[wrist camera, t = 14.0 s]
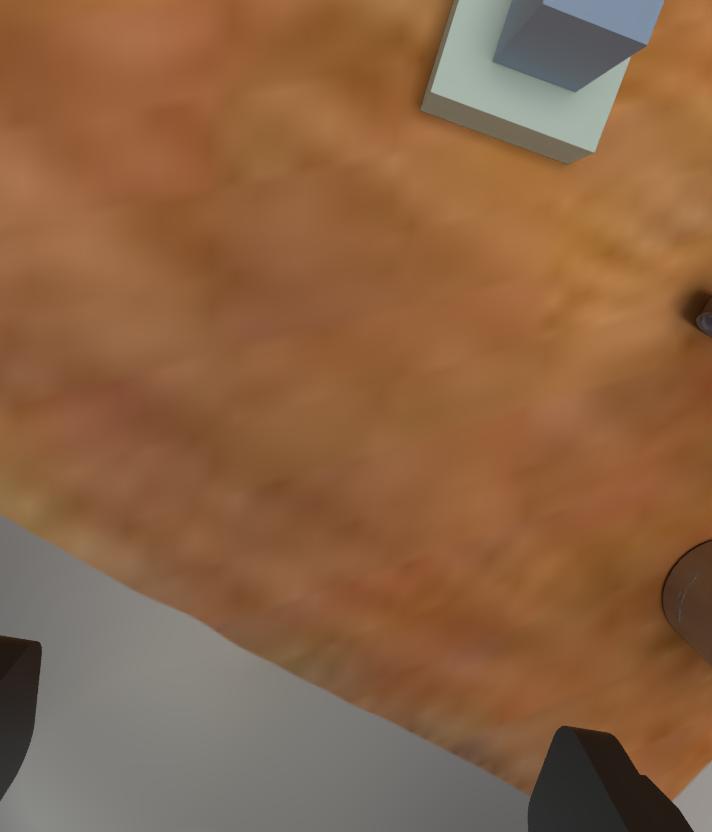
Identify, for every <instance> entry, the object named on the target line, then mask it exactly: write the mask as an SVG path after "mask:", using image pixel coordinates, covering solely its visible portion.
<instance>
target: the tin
mask: <svg viewBox="0 0 712 832" xmlns="http://www.w3.org/2000/svg"><path fill="white" fill-rule="evenodd" d="M696 323H697V325H698V327H699V328H700V329H701V330H702V331H703V332H704V333H706V334H707V335H709V336H710V337H711V338H712V296H711V298H710V299H709V301H708V303H707V304H706V306H705V308H704V310H703V311H702V313H701V314H700V315H698V317H697V318H696Z"/></svg>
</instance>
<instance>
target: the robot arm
mask: <svg viewBox="0 0 712 832" xmlns="http://www.w3.org/2000/svg"><path fill="white" fill-rule="evenodd" d="M663 608H664V613H665V615H666V617H667V619H668V621H669V623H670V624H671V625H672V627H673V628H674V629H675V630H676V631H677V632H678V633H679V634H680V635H681V636H682V637H683V638H684V639H685V640H686V641H687V642H688V643H689V644H690V645H691V647H692V648H693V649H694V650H695V651H696V652H697V653H698V654H699V655H700V656H701V657H702V658H703V659H704V660H705V661H706V662H707V663H708V664H709V665H710V666H711V667H712V541H710V542H707V543H705V544H702V545H700V546H698V547H697V548H695V549H693V550H692V551H690V552H689V553H688V554H687V555H685V556H684V557H683V558H682V559H681V560H680V561H679V562H678V563H677V565H676V566H675V567H674V568H673V570H672V571H671V573H670V575H669V577H668V579H667V581H666V584H665V588H664V591H663ZM41 656H42V647H41V644H40V642H38V641H31V640H25V639H19V638H13V637H6V636H0V801H1V799H2V798H3V796H4V794H5V792H6V791H7V789H8V788H9V786H10V785H11V783H12V782H13V780H14V778H15V777H16V775H17V773H18V771H19V769H20V767H21V765H22V763H23V760H24V758H25V756H26V753H27V750H28V748H29V745H30V742H31V737H32V734H33V730H34V723H35V713H36V704H37V694H38V685H39V675H40V666H41ZM528 831H529V832H694V831H693V830H692V828H691V827H690V825H689V824H688V822H687V821H686V819H685V818H684V816H683V815H682V813H681V812H680V810H679V809H678V808H677V807H676V806H675V805H674V804H673V803H672V802H671V801H670V800H669V798H668V797H667V796H666V795H665V794H664V793H663V792H662V791H661V790H660V789H659V788H658V787H657V786H656V785H655V784H654V783H653V782H652V781H651V780H650V779H649V778H648V777H647V776H645V775H640V774H639V773H638V771H637V769H636V768H635V766H634V765H633V763H632V761H631V760H630V758H629V757H628V755H627V753H626V752H625V750H624V749H623V747H622V745H621V744H620V742H619V741H618V740H617V738H616V737H615V736H613V735H612V734H610V733H607V732H601V731H594V730H588V729H582V728H575V727H569V726H562V727H560V728H559V729H558V730H557V731H556V733H555V735H554V737H553V740H552V743H551V745H550V748H549V750H548V753H547V756H546V758H545V761H544V764H543V766H542V769H541V772H540V774H539V777H538V780H537V782H536V785H535V787H534V790H533V793H532V795H531V798H530V802H529V807H528Z"/></svg>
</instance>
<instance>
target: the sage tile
mask: <svg viewBox="0 0 712 832" xmlns="http://www.w3.org/2000/svg"><path fill="white" fill-rule="evenodd" d="M511 2H512V0H454V1H453V4H452V8H451V11H450V14H449V17H448V21H447V24H446V27H445V30H444V34H443V37H442V40H441V43H440V47H439V50H438V53H437V56H436V60H435V63H434V66H433V69H432V73H431V76H430V79H429V82H428V86H427V89H426V92H425V95H424V99H423V102H422V105H421V108H420V111H423V112H426V113H428V114H431V115H434V116H437V117H439V118H442V119H445V120H448V121H450V122H453V123H456V124H459V125H461V126H464V127H467V128H470V129H472V130H475V131H478V132H480V133H483V134H486V135H489V136H491V137H494V138H497V139H500V140H502V141H505V142H508V143H511V144H513V145H516V146H519V147H522V148H524V149H527V150H530V151H533V152H535V153H538V154H541V155H543V156H546V157H549V158H552V159H554V160H557V161H560V162H563V163H565V164H570V163H572V162H574V161H577V160H579V159H581V158H583V157H586V156H588V155H590V154H592V153H594V152H595V150H596V147H597V144H598V142H599V139H600V136H601V134H602V131H603V129H604V126H605V123H606V121H607V118H608V116H609V113H610V110H611V108H612V105H613V102H614V100H615V97H616V95H617V92H618V89H619V87H620V84H621V82H622V79H623V76H624V74H625V71H626V68H627V66H628V63H629V61H630V58H631V56H630V57H629V58H627V59H626V60H624V61H623V62H621V63H620V64H618V65H617V66H615V67H613V68H612V69H610V70H609V71H607V72H606V73H604V74H603V75H601V76H600V77H598V78H597V79H595V80H594V81H592V82H591V83H589V84H588V85H586V86H585V87H583V88H581V89H580V90H578V91H577V92H574V91H571V90H568V89H566V88H563V87H560V86H558V85H555V84H552V83H550V82H547V81H544V80H542V79H539V78H536V77H534V76H531V75H528V74H526V73H523V72H520V71H518V70H515V69H512V68H510V67H507V66H504V65H502V64H499V63H496V62H494V61H493V59H494V56H495V53H496V49H497V46H498V43H499V40H500V37H501V34H502V31H503V28H504V24H505V21H506V18H507V15H508V12H509V9H510V6H511Z"/></svg>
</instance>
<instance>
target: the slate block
mask: <svg viewBox="0 0 712 832" xmlns="http://www.w3.org/2000/svg"><path fill="white" fill-rule="evenodd" d="M663 3H664V0H512V2H511V6H510V9H509V12H508V15H507V18H506V21H505V24H504V28H503V31H502V34H501V37H500V40H499V43H498V46H497V49H496V53H495V56H494V59H493V61H494V62H496V63H499V64H502V65H504V66H507V67H510V68H512V69H515V70H518V71H520V72H523V73H526V74H528V75H531V76H534V77H536V78H539V79H542V80H544V81H547V82H550V83H552V84H555V85H558V86H560V87H563V88H566V89H568V90H571V91H574V92H577V91H578V90H580V89H581V88H583V87H585V86H586V85H588V84H589V83H591V82H592V81H594V80H595V79H597V78H598V77H600V76H601V75H603V74H604V73H606V72H607V71H609V70H610V69H612V68H613V67H615V66H617V65H618V64H620V63H621V62H623V61H624V60H626V59H627V58H629V57H630V56H632V55H633V54H635V53H636V52H638V51H639V50H641V49H642V48H644V47H645V46H647V45H648V42H649V40H650V37H651V35H652V32H653V29H654V27H655V24H656V21H657V19H658V16H659V14H660V11H661V8H662V6H663Z"/></svg>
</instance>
